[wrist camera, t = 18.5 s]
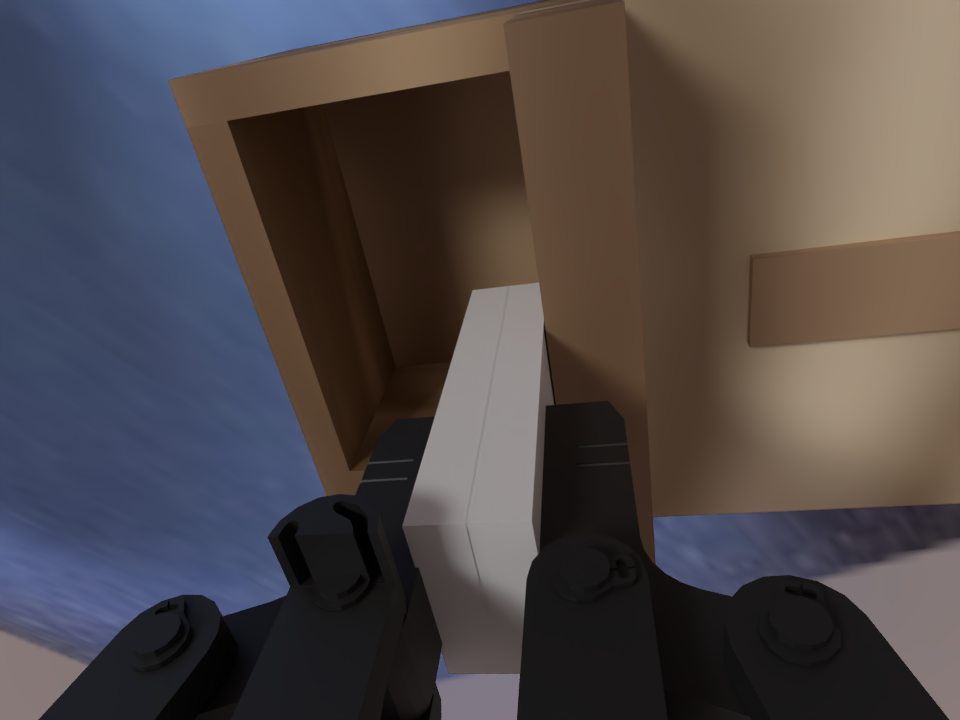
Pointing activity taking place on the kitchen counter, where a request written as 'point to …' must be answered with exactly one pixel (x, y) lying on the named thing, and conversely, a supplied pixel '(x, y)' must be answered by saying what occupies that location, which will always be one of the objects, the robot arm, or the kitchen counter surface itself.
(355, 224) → the toolbox
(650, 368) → the lid
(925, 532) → the kitchen counter surface
